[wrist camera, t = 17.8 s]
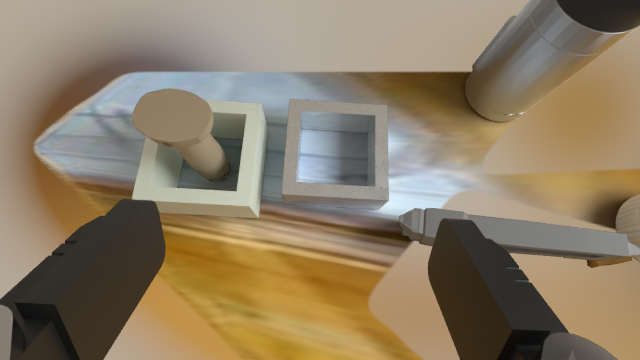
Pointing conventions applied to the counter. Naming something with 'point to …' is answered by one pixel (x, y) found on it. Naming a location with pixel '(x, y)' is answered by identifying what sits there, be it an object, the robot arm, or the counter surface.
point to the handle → (182, 129)
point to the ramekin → (630, 221)
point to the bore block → (344, 120)
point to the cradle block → (162, 187)
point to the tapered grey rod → (527, 236)
